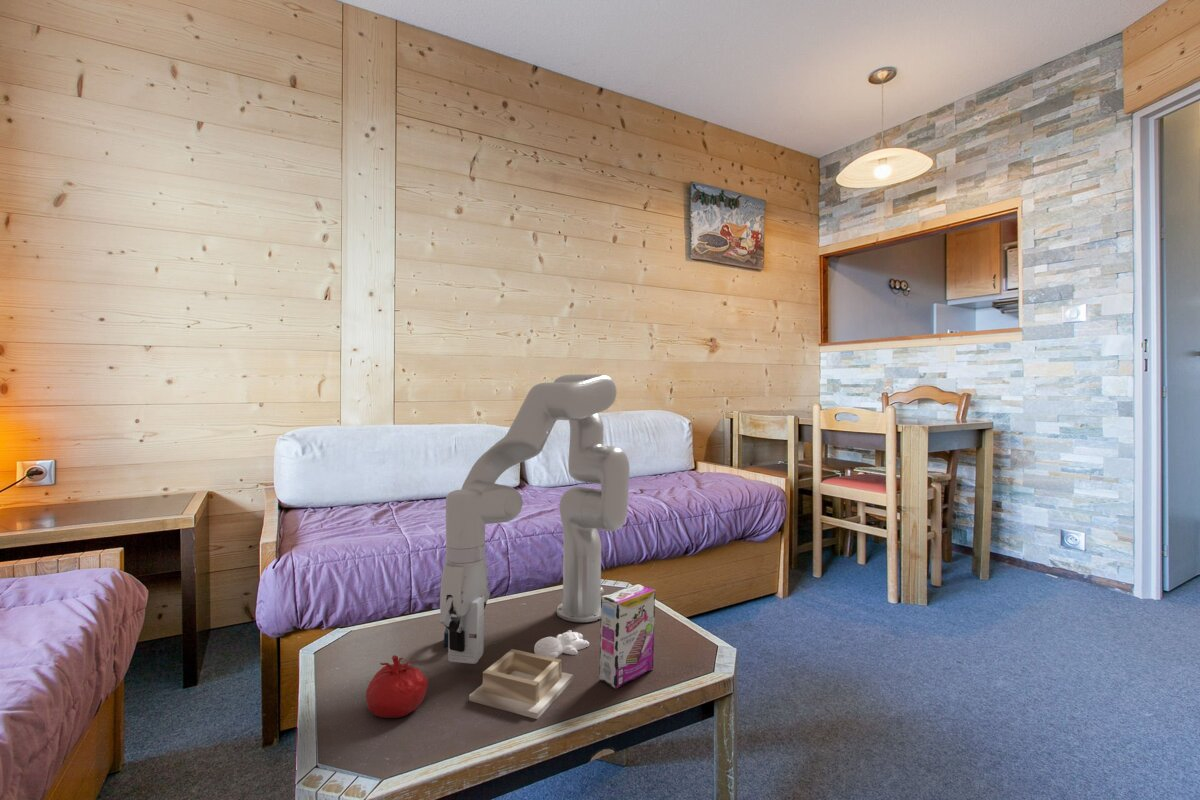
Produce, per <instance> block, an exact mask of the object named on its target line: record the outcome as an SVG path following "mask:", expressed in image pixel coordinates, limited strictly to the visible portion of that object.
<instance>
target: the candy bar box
mask: <svg viewBox="0 0 1200 800" xmlns="http://www.w3.org/2000/svg"><path fill="white" fill-rule="evenodd" d="M655 609H656V589H653V588H651V587H649V586H645V585H642V584H635V585H632V586H629V587H628V586H627V587H626V588H623V589H620V590H617V591H614V592H611V593H608V594H605V595H601V619H600V627H599V629H600V632H599V633H600V639H599V667H598V668H599V669H598V670H599V673H598V675H599V676H598V680H600V681H602V682H603V683H604V684H606V685H608V686H610V687H611V688H613V689H619V688H620V687H622V686H624V685H625V684H627V682H628V683H629V681H630V682H632V681H633V680H635V679H637V678H639V677H641V676H643V675H644V674H643V673H645V672H647V671H649V670H651V669H653V670H654V647H655V645H654V644H655V615H656V614H655V613H656V610H655ZM651 671H652V670H651ZM649 672H650V671H649ZM647 673H648V672H647ZM642 674H643V675H642ZM645 674H646V673H645ZM640 675H641V676H640ZM638 676H639V677H638ZM636 677H637V678H636ZM632 679H633V680H632ZM631 680H632V681H631Z"/></svg>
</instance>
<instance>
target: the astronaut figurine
mask: <svg viewBox="0 0 1200 800" xmlns="http://www.w3.org/2000/svg"><path fill="white" fill-rule="evenodd" d="M572 631H573V630H572V629H571V630H570V629H569V630H567V631H566V632H563V633H562V634H561V633H559V634H557V635H556V637H554V636H547V637H543V638H541V639H539V640H538V641H536V643H535V644H534V646H533V647H534V648H533V652H534V654H537V655H542V656H546V657H551V658H556V659H558V658H559V656H560V655H562V654H567V655H570V656H577V655H578V653H579V652H578V651H579V650H584V649H586V647H587V648H589V647H588V646H590V642H589V641H588V640H587V639H583V637H584V635H583V634H582V633H580V632H577V631H573V632H572Z"/></svg>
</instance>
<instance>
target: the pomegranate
mask: <svg viewBox="0 0 1200 800" xmlns="http://www.w3.org/2000/svg"><path fill="white" fill-rule="evenodd" d="M403 659H404V658H403V657H399V656H398V655H396V654H395V655H392V656H391V661H393V663H388V662H379V664H380V665H381V666H383V667H382V668H380V669H379V670H378V671H377V672H376V673H375V674H374V675H373V677H372V679H371V680H370V681H369V683H368V685H367V687H366V690H365V692H366V693H365V699H366V704H367V708H368V710H369V712H370V713H371V714H372V715H375V716H377V717H379V718H384V719H385V718H387V719H388V718H389V719H390V718H395V719H397V718H402V717H405V716H407V715H409V714H411V713H413V712H414V711H415V710H416V709H417V708H418V707H419V706H420V705H421V703H422V702H423V700H424V698H425V696H426V693H427V690H428V679H427V677H426V675H425V674H424V673H422V670H420V669H419V668H418V667H416V666H413V665H410V663H412V662H419V659H418V660H409V661H406V662H405V663H401V661H402V660H403Z"/></svg>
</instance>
